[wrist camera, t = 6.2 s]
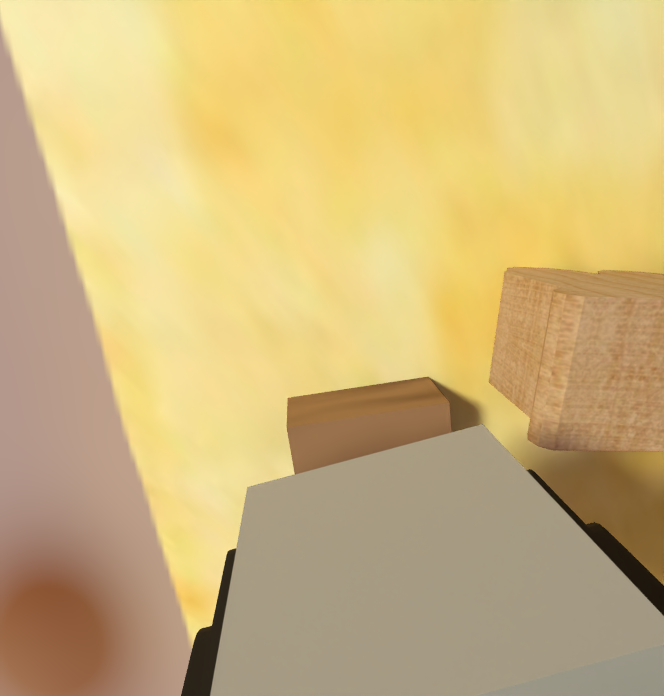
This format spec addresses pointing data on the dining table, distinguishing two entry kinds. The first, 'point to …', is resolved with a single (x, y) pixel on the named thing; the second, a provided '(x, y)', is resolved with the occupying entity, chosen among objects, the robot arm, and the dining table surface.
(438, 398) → the walnut block
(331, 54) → the dining table surface
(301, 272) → the dining table surface
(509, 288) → the toy train
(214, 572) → the dining table surface
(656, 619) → the slate brick
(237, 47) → the dining table surface
